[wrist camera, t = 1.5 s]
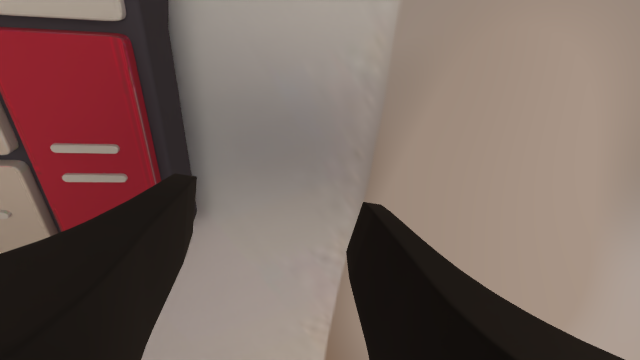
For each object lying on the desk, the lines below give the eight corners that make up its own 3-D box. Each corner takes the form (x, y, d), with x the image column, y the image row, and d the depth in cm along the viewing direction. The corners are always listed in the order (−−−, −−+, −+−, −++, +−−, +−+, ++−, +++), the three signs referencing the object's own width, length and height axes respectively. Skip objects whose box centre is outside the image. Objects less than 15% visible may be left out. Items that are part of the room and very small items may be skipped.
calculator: (-64, 265, 15) (-410, -203, 8) (3, 210, 19) (-185, -144, 11) (182, 260, 17) (99, -147, 9) (200, 209, 20) (152, -110, 13)
